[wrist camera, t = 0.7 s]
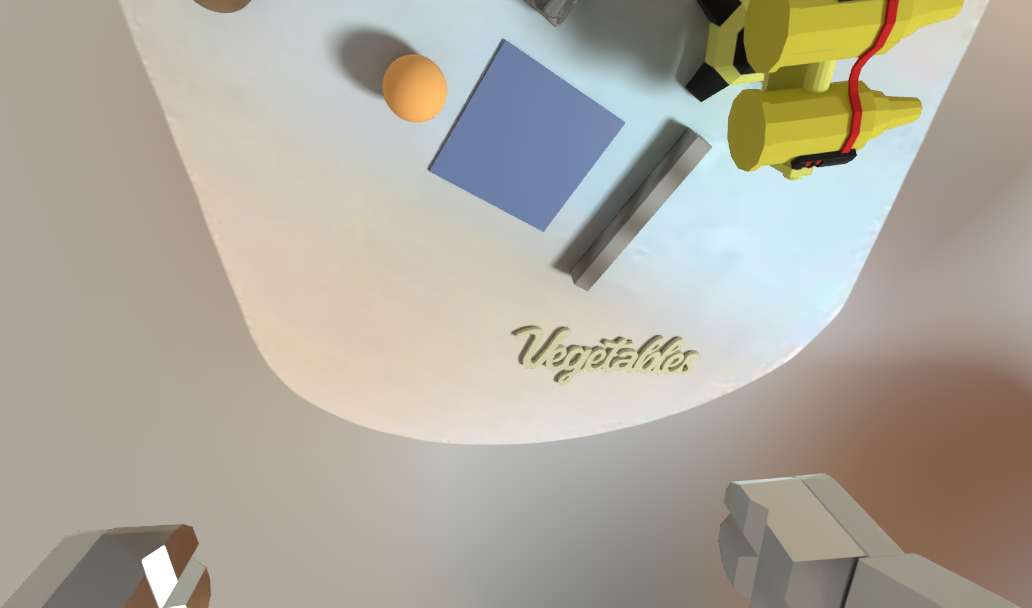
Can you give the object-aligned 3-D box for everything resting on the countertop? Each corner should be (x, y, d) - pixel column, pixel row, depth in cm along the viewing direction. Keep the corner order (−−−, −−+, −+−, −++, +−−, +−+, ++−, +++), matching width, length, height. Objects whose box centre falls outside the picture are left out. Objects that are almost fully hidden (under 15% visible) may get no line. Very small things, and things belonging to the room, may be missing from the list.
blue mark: (504, 39, 47) (505, 40, 46) (624, 122, 52) (625, 123, 52) (429, 170, 53) (429, 171, 53) (543, 230, 59) (543, 231, 59)
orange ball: (401, 34, 45) (398, 49, 41) (457, 69, 48) (459, 87, 43) (374, 90, 48) (368, 110, 44) (428, 121, 50) (428, 143, 46)
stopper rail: (688, 127, 54) (698, 136, 52) (702, 137, 54) (712, 147, 52) (570, 272, 63) (574, 284, 61) (583, 278, 64) (587, 291, 62)
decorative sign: (505, 383, 72) (518, 327, 66) (504, 378, 73) (517, 322, 67) (683, 389, 78) (710, 338, 72) (681, 384, 78) (707, 333, 72)
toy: (813, 116, 54) (917, 180, 43) (680, 133, 54) (748, 203, 42) (868, -88, 44) (1025, -77, 32) (702, -69, 43) (801, -52, 32)
